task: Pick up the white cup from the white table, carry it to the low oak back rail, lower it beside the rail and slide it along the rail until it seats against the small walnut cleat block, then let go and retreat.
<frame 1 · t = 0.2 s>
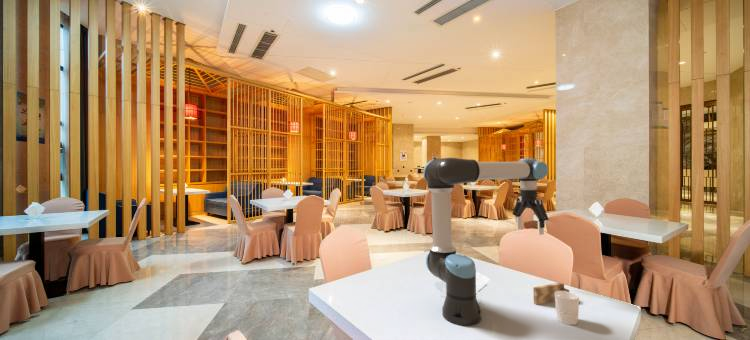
hand: (529, 231, 145), 28 cm above the table, tool pointing down, fingers open, 13 cm apart
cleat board: (549, 301, 129), on the table
white cup: (567, 321, 113), on the table
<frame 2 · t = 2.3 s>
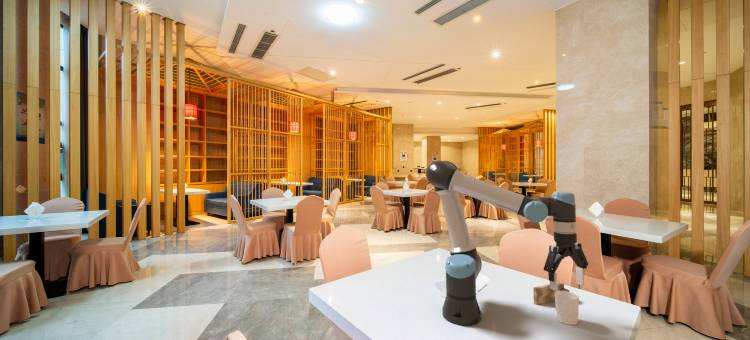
hand: (567, 286, 113), 13 cm above the table, tool pointing down, fingers open, 13 cm apart
nothing on the table moved.
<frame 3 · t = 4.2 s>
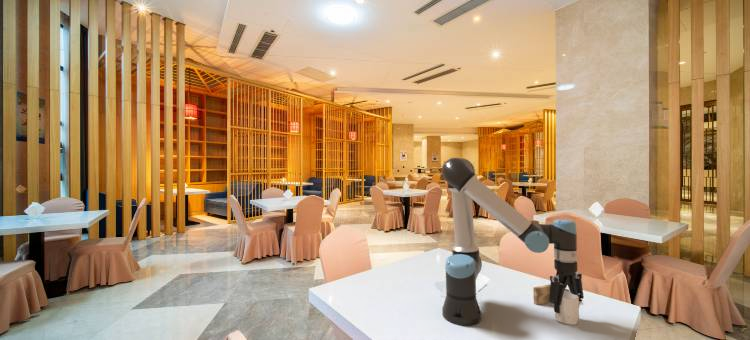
hand: (567, 318, 113), 1 cm above the table, tool pointing down, fingers closed on white cup, 7 cm apart
white cup: (567, 321, 113), on the table, touching gripper
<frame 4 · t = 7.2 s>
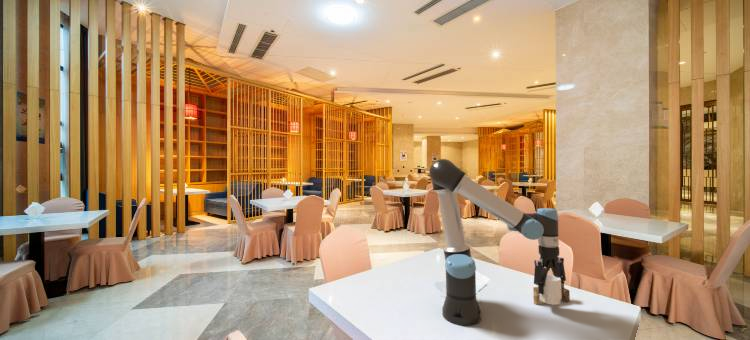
hand: (550, 299, 122), 4 cm above the table, tool pointing down, fingers closed on white cup, 7 cm apart
white cup: (551, 301, 122), point 3 cm above the table, touching gripper
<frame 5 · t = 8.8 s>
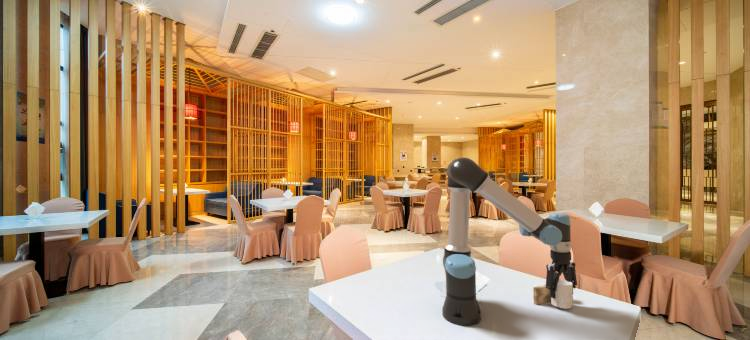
hand: (562, 303, 124), 1 cm above the table, tool pointing down, fingers closed on white cup, 7 cm apart
white cup: (562, 305, 124), on the table, touching gripper
when the fingers open (1 cm above the table, at t = 10.2 s): white cup stays where it is, on the table.
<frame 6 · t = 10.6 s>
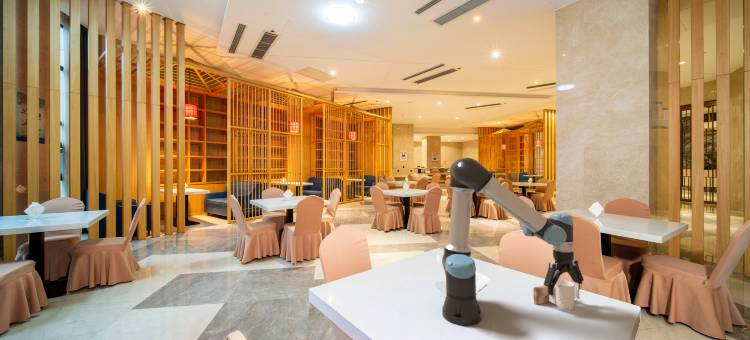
hand: (564, 300, 124), 3 cm above the table, tool pointing down, fingers open, 12 cm apart
white cup: (564, 306, 124), on the table
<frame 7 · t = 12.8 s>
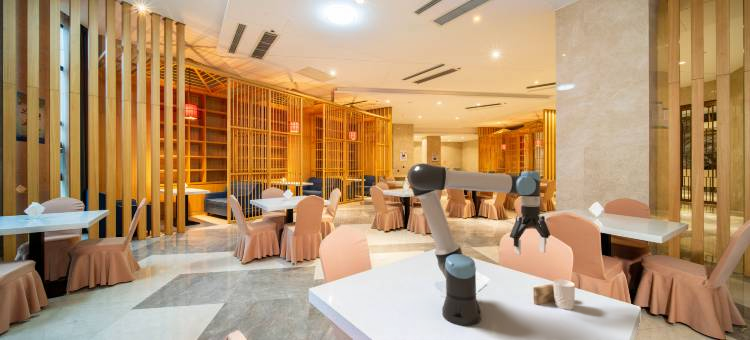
hand: (530, 252, 130), 21 cm above the table, tool pointing down, fingers open, 13 cm apart
nothing on the table moved.
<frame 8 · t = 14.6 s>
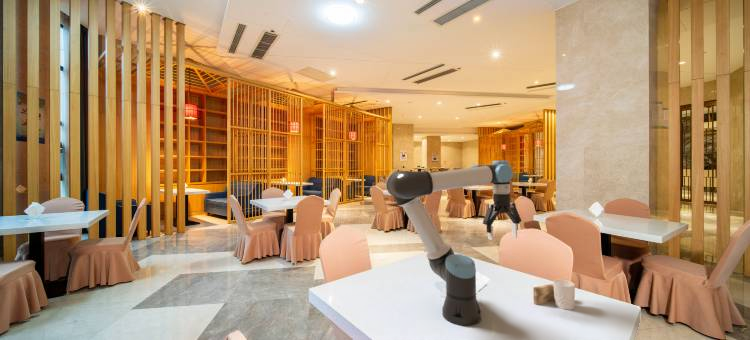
hand: (502, 238, 137), 27 cm above the table, tool pointing down, fingers open, 13 cm apart
nothing on the table moved.
at the end: white cup 0.7 cm from the target spot on the table beside the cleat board, on the table; white cup tilted 0°; the gripper is holding nothing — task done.
